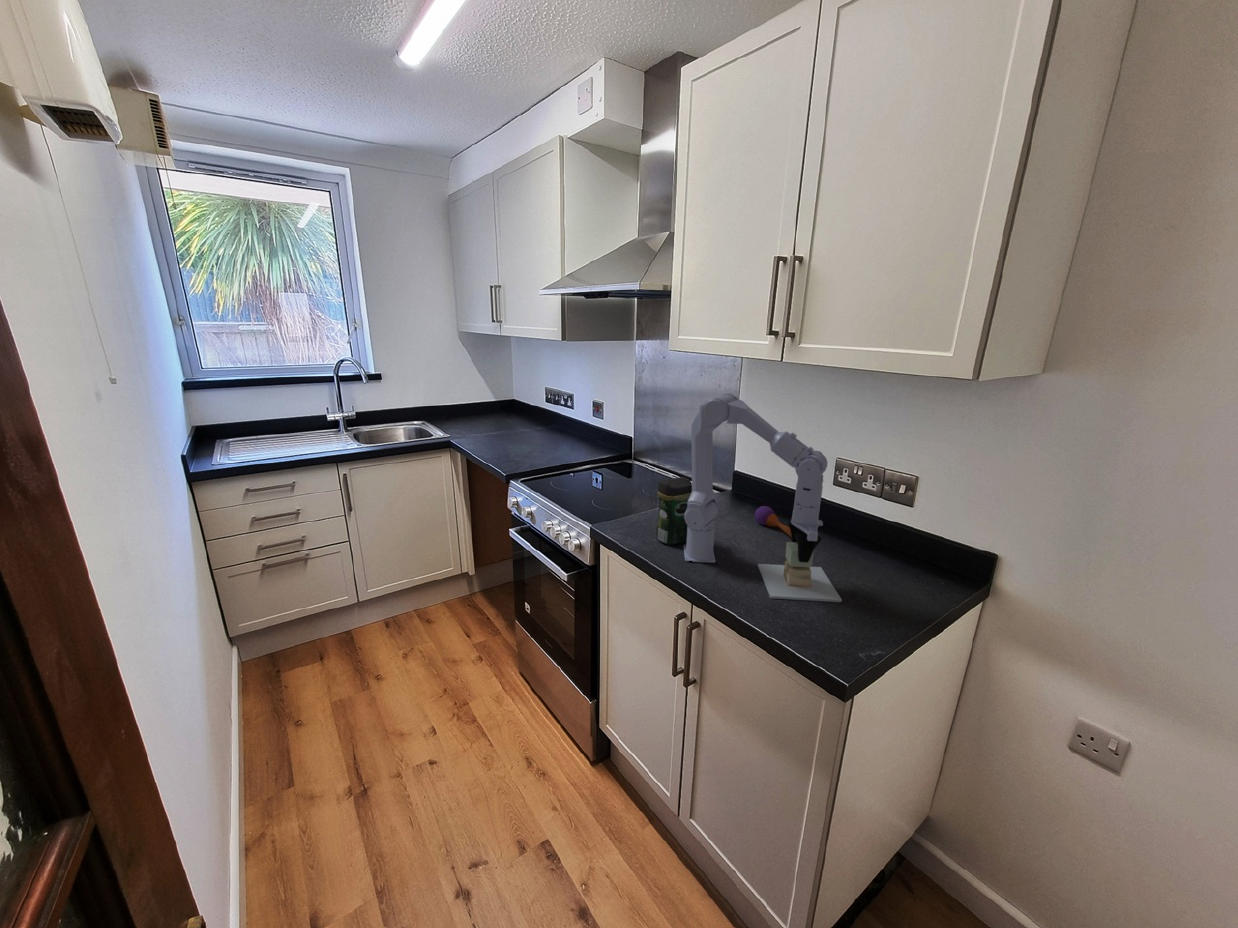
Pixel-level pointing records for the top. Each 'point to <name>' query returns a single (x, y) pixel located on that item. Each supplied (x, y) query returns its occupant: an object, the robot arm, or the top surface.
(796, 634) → the top surface
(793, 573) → the beech block
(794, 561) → the sage block
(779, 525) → the maraca
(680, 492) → the coffee jar
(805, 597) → the baseplate
